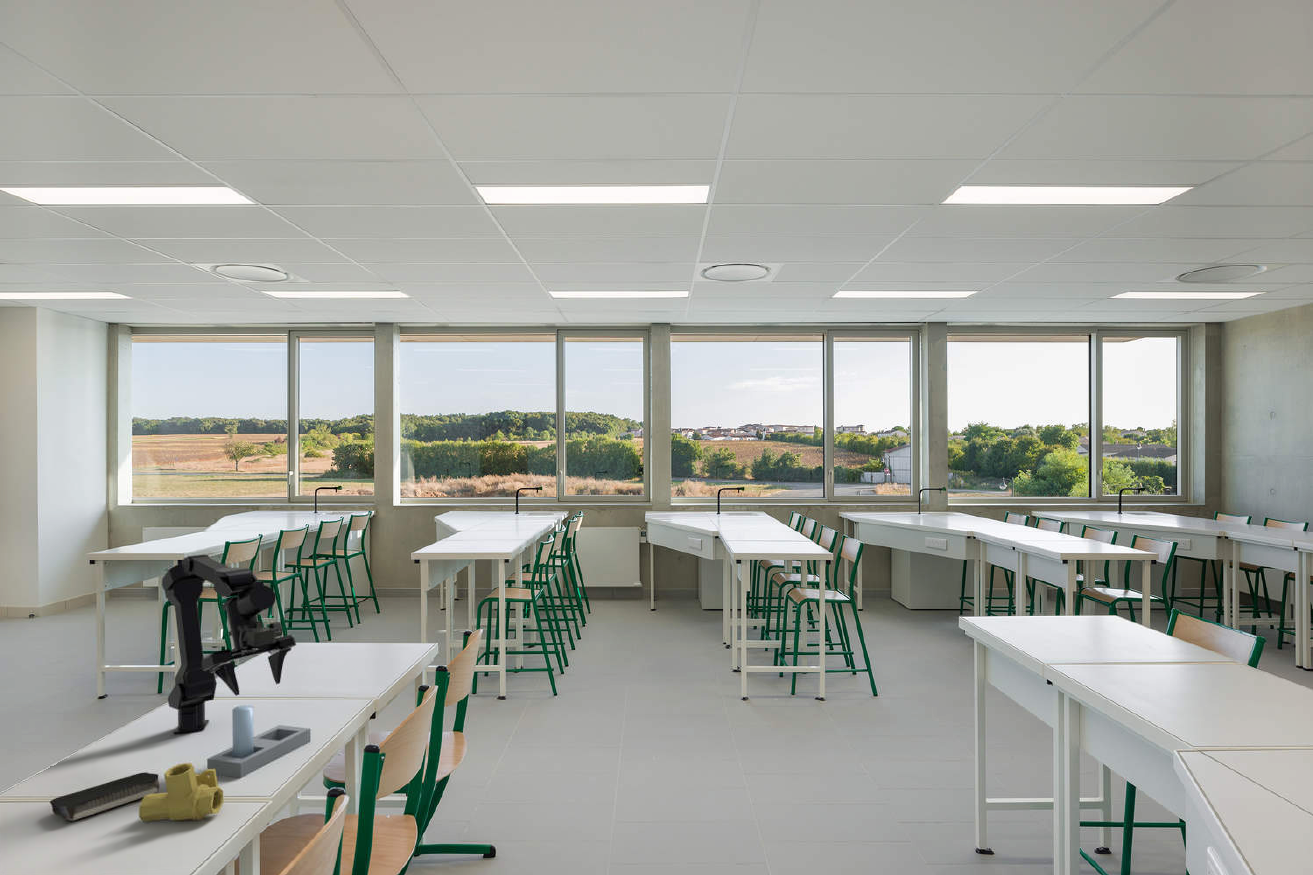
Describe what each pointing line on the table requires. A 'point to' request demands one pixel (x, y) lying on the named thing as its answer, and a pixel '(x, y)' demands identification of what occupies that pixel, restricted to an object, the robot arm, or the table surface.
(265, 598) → the robot arm
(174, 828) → the table surface
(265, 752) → the panel
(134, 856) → the table surface
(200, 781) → the ball valve
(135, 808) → the table surface
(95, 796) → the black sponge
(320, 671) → the table surface
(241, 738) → the plug
